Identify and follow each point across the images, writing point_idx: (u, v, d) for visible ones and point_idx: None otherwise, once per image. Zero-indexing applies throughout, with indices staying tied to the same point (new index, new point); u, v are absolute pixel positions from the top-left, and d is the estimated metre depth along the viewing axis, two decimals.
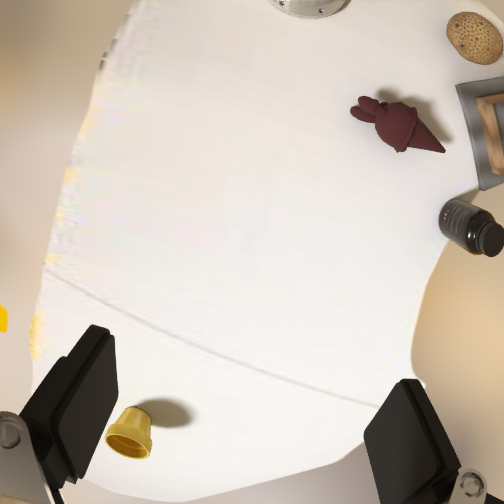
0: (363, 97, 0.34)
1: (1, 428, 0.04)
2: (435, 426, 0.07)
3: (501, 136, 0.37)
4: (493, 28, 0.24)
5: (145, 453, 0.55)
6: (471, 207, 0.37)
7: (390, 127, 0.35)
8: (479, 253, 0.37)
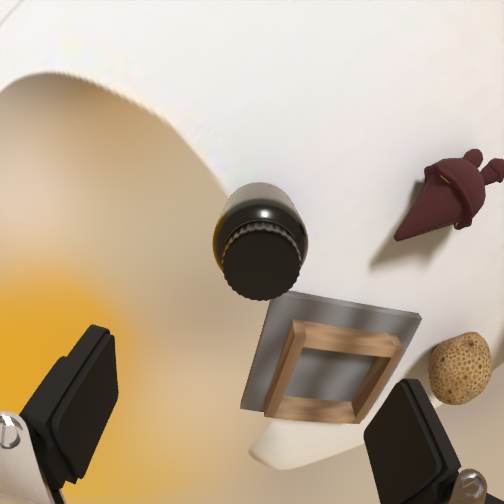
0: None
1: (1, 428, 0.04)
2: (435, 426, 0.07)
3: (327, 357, 0.34)
4: (475, 396, 0.26)
5: None
6: None
7: (475, 174, 0.22)
8: (225, 226, 0.21)
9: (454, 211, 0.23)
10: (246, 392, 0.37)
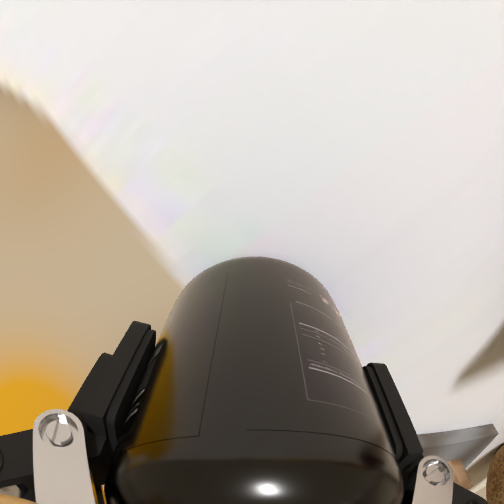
0: None
1: (53, 426, 0.05)
2: (398, 410, 0.07)
3: None
4: None
5: None
6: None
7: None
8: None
9: None
10: None
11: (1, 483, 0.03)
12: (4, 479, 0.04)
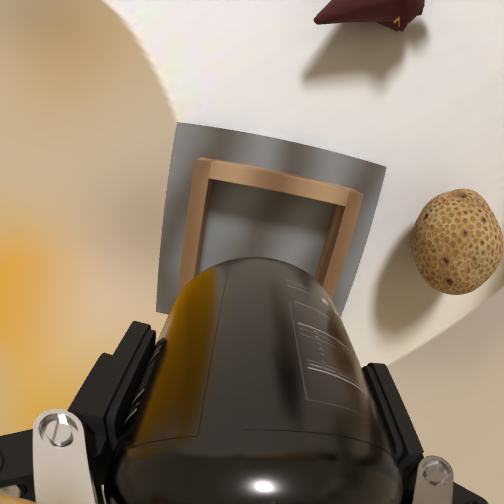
0: None
1: (53, 426, 0.05)
2: (398, 410, 0.07)
3: (258, 219, 0.27)
4: (487, 273, 0.19)
5: None
6: None
7: None
8: None
9: None
10: (159, 282, 0.29)
11: (1, 483, 0.03)
12: (4, 479, 0.04)
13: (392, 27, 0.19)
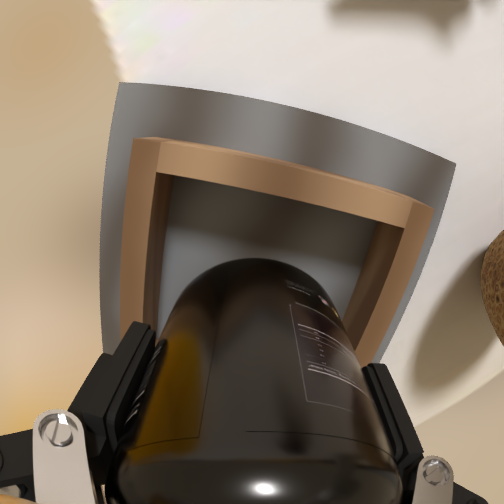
0: None
1: (53, 426, 0.05)
2: (398, 410, 0.07)
3: (250, 243, 0.16)
4: None
5: None
6: None
7: None
8: None
9: None
10: (103, 329, 0.18)
11: (1, 483, 0.03)
12: (4, 479, 0.04)
13: None
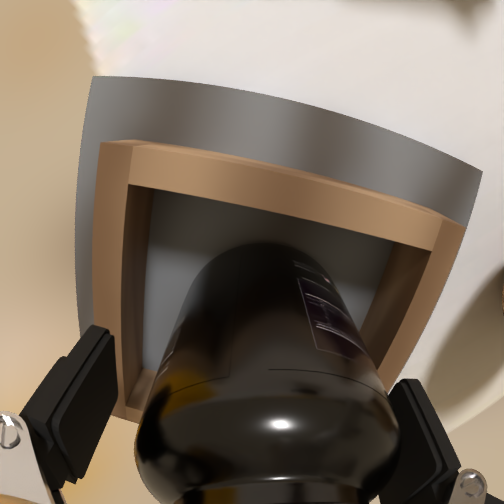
0: None
1: (1, 428, 0.04)
2: (435, 426, 0.07)
3: None
4: None
5: None
6: None
7: None
8: (156, 463, 0.05)
9: None
10: None
11: None
12: None
13: None
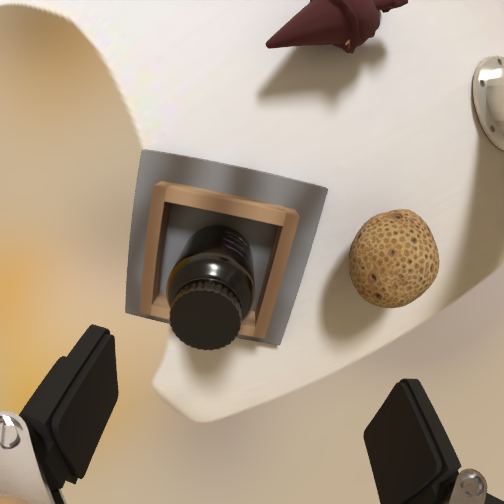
0: (407, 0, 0.19)
1: (1, 428, 0.04)
2: (435, 426, 0.07)
3: None
4: (417, 290, 0.23)
5: None
6: None
7: None
8: (175, 279, 0.22)
9: (333, 16, 0.19)
10: (127, 287, 0.32)
11: None
12: None
13: (344, 49, 0.23)
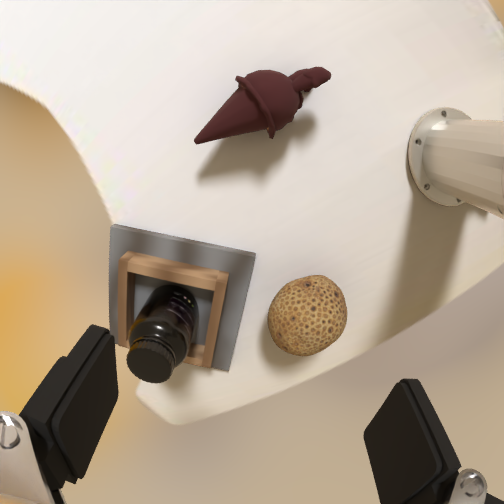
0: (330, 75, 0.26)
1: (1, 428, 0.04)
2: (435, 426, 0.07)
3: None
4: (316, 346, 0.31)
5: None
6: None
7: (276, 78, 0.26)
8: (132, 334, 0.30)
9: (248, 111, 0.27)
10: (110, 324, 0.41)
11: None
12: None
13: (268, 132, 0.31)
